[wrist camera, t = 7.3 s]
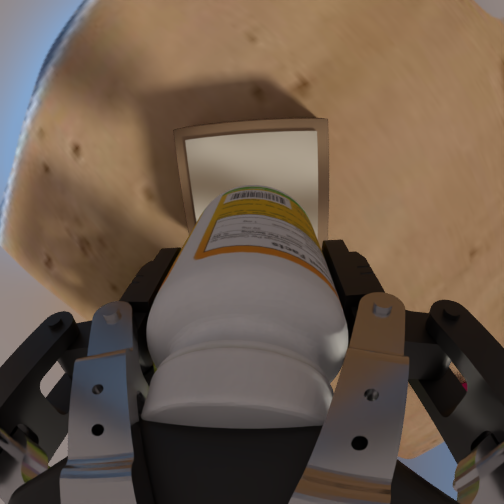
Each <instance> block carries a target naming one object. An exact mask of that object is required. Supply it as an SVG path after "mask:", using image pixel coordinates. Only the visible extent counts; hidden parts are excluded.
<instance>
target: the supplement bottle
mask: <svg viewBox="0 0 504 504" xmlns="http://www.w3.org/2000/svg"><path fill="white" fill-rule="evenodd" d="M146 337H147V345H148V350H149V353H150V355H151V358H152V360H153V362H154V364H155V366H156V368H157V371H156V372H155V373H154V375H153V377H152V379H151V382H150V386H149V390H148V394H147V397H146V400H145V404H144V407H143V410H142V414H141V418H142V419H143V420H146V421H153V422H160V423H168V424H176V425H186V426H197V427H212V428H239V429H263V428H290V427H305V426H321V425H323V424H324V421H325V418H326V416H327V413H328V410H329V407H330V404H331V401H332V398H333V395H334V393H333V389H332V387H331V385H330V383H331V382H332V381H333V379H334V378H335V377H336V375H337V374H338V372H339V371H340V369H341V367H342V365H343V362H344V359H345V355H346V352H347V348H348V329H347V323H346V319H345V316H344V312H343V308H342V305H341V302H340V300H339V296H338V294H337V292H336V289H335V286H334V283H333V281H332V278H331V275H330V272H329V269H328V267H327V264H326V261H325V258H324V256H323V253H322V250H321V248H320V245H319V242H318V240H317V237H316V234H315V232H314V229H313V226H312V224H311V222H310V220H309V218H308V216H307V214H306V212H305V211H304V209H303V208H302V207H301V205H300V204H299V203H298V202H297V201H296V200H294V199H293V198H292V197H290V196H289V195H287V194H286V193H284V192H282V191H280V190H277V189H275V188H272V187H268V186H263V185H244V186H239V187H236V188H233V189H230V190H228V191H226V192H224V193H222V194H220V195H219V196H217V197H216V198H215V199H214V200H213V201H211V202H210V203H209V205H208V206H207V207H206V208H205V210H204V211H203V212H202V214H201V215H200V217H199V219H198V221H197V222H196V224H195V226H194V228H193V229H192V231H191V233H190V235H189V237H188V238H187V240H186V242H185V244H184V245H183V247H182V249H181V251H180V253H179V254H178V256H177V258H176V260H175V261H174V263H173V265H172V267H171V269H170V271H169V273H168V274H167V276H166V278H165V280H164V282H163V284H162V285H161V287H160V289H159V291H158V294H157V296H156V298H155V300H154V303H153V305H152V307H151V310H150V313H149V317H148V321H147V328H146Z"/></svg>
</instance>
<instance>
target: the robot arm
mask: <svg viewBox="0 0 504 504" xmlns="http://www.w3.org/2000/svg"><path fill="white" fill-rule="evenodd" d="M180 251H181V248H164V249H161V250H160V252H159V253H158V255H157V256H156V258H155V259H154V261H150V262H149V263H147V264H146V265H144V266H143V267H142V268H141V269H140V270H139V272H138V273H137V275H136V277H135V278H134V279H133V281H132V283H131V284H130V285H129V287H128V288H127V290H126V291H125V293H124V294H123V296H122V297H121V299H120V300H119V301H115V302H111V303H108V304H106V305H104V306H102V307H101V308H99V309H98V310H97V311H96V312H95V314H94V316H93V319H92V321H87V322H81V323H76V322H75V320H74V318H73V316H72V314H70V313H69V312H65V311H63V312H58V313H55V314H53V315H51V316H50V317H48V318H47V319H46V320H45V321H44V322H43V323H42V324H41V325H40V326H39V327H38V328H37V329H36V330H35V331H34V332H33V333H32V334H31V335H30V336H29V337H28V338H27V339H26V340H25V341H24V342H23V343H22V344H21V345H20V346H19V347H18V348H17V349H16V351H15V352H14V353H13V354H12V355H11V356H10V357H9V358H8V359H7V360H6V362H5V363H4V364H3V365H2V366H1V367H0V498H1V499H2V500H3V501H4V502H5V504H504V348H503V347H502V346H501V345H500V344H499V343H498V341H497V340H496V339H495V338H494V337H493V336H492V335H491V334H490V333H489V332H488V331H487V330H486V329H485V328H484V327H483V325H482V324H481V323H480V322H479V321H478V320H477V319H476V318H475V317H474V316H473V315H472V314H471V313H470V312H469V311H468V310H467V309H466V308H465V307H463V306H462V305H461V304H459V303H457V302H454V301H451V300H440V301H437V302H435V303H433V305H432V306H431V309H430V312H429V313H422V312H413V311H408V310H405V306H404V304H403V302H402V301H401V300H400V299H398V298H397V297H395V296H393V295H391V294H388V293H385V291H384V290H383V288H382V286H381V284H380V282H379V281H378V279H377V277H376V275H375V274H374V273H373V270H372V268H371V267H370V265H369V263H368V262H367V260H366V258H365V257H363V256H362V255H360V254H359V253H358V252H349V251H348V249H347V247H346V245H345V243H344V241H343V240H324V241H323V243H322V253H323V256H324V258H325V261H326V264H327V267H328V269H329V272H330V275H331V278H332V281H333V283H334V286H335V289H336V292H337V294H338V296H339V300H340V302H341V305H342V308H343V312H344V316H345V319H346V323H347V329H348V348H347V352H346V355H345V359H344V362H343V366H342V369H341V373H340V376H339V379H338V382H337V386H336V389H335V392H334V395H333V398H332V401H331V404H330V407H329V410H328V413H327V416H326V418H325V421H324V424H323V425H321V426H305V427H290V428H263V429H239V428H212V427H197V426H186V425H176V424H168V423H160V422H153V421H146V420H143V419H142V418H141V414H142V410H143V407H144V404H145V400H146V397H147V394H148V390H149V386H150V382H151V379H152V377H153V375H154V373H155V372H156V371H157V368H156V366H155V364H154V362H153V360H152V358H151V355H150V353H149V350H148V345H147V337H146V328H147V321H148V317H149V313H150V310H151V307H152V305H153V303H154V300H155V298H156V296H157V294H158V291H159V289H160V287H161V285H162V284H163V282H164V280H165V278H166V276H167V274H168V273H169V271H170V269H171V267H172V265H173V263H174V261H175V260H176V258H177V256H178V254H179V253H180ZM56 361H58V362H59V364H60V365H61V367H62V368H63V370H64V371H65V374H64V375H63V376H62V378H61V379H60V380H59V381H58V383H57V384H56V385H55V386H54V388H53V389H52V390H51V392H50V393H49V394H48V396H47V397H46V398H45V397H44V396H43V394H42V393H41V391H40V382H41V380H42V378H43V377H44V376H45V374H46V373H47V372H48V371H49V370H50V369H51V367H52V366H53V365H54V364H55V363H56ZM451 362H453V364H454V365H455V366H456V367H457V369H458V370H459V371H460V373H461V374H462V375H463V377H464V378H465V380H466V382H467V391H466V390H465V388H464V387H463V385H462V384H461V383H460V381H459V380H458V379H457V377H456V376H455V375H454V373H453V372H452V371H451V369H450V368H449V365H450V363H451ZM408 382H409V383H410V385H411V387H412V388H413V390H414V391H415V393H416V394H417V396H418V398H419V399H420V401H421V402H422V404H423V406H424V407H425V409H426V411H427V412H428V414H429V416H430V417H431V419H432V421H433V422H434V424H435V426H436V427H437V429H438V431H439V432H440V434H441V436H442V438H443V439H444V441H445V443H446V444H447V446H448V448H449V450H450V452H451V453H452V455H453V457H454V459H455V461H456V462H457V464H458V466H457V468H456V471H455V479H454V481H453V488H454V490H456V491H457V492H458V495H457V501H456V500H454V499H453V498H451V497H450V496H448V495H446V494H445V493H444V492H442V491H441V490H439V489H438V488H436V487H434V486H433V485H432V484H430V483H429V482H427V481H426V480H425V479H423V478H422V477H421V476H419V475H418V474H416V473H415V472H414V471H412V470H411V469H410V468H408V467H407V466H405V465H404V464H403V463H401V462H400V461H399V460H397V456H398V451H399V445H400V440H401V434H402V428H403V421H404V414H405V406H406V398H407V388H408ZM67 433H68V456H67V457H66V458H64V459H63V460H61V461H60V462H58V463H56V464H55V465H53V466H52V467H50V466H48V463H49V461H50V460H51V458H52V456H53V455H54V453H55V452H56V450H57V449H58V447H59V446H60V444H61V442H62V441H63V440H64V438H65V437H66V435H67Z"/></svg>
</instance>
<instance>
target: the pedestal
mask: <svg viewBox="0 0 504 504" xmlns="http://www.w3.org/2000/svg"><path fill="white" fill-rule="evenodd" d="M173 132H174V140H175V148H176V155H177V163H178V170H179V177H180V183H181V190H182V197H183V203H184V209H185V215H186V221H187V227H188V232H189V235H190V233H191V231H192V229H193V228H194V226H195V224H196V222H197V221H198V219H199V217H200V215H201V214H202V212H203V211H204V210H205V208H206V207H207V206H208V205H209V203H210V202H211V201H213V200H214V199H215V198H216V197H217V196H219V195H220V194H222V193H224V192H226V191H228V190H230V189H233V188H236V187H239V186H244V185H263V186H268V187H272V188H275V189H277V190H280V191H282V192H284V193H286V194H287V195H289V196H290V197H292V198H293V199H294V200H296V201H297V202H298V203H299V204H300V205H301V207H302V208H303V209H304V211H305V212H306V214H307V216H308V218H309V220H310V222H311V224H312V226H313V229H314V232H315V234H316V237H317V240H318V242H319V245H320V248H321V250H322V243H323V241H324V240H328V216H329V134H328V119H324V118H274V119H256V120H242V121H231V122H221V123H212V124H204V125H196V126H189V127H184V128H180V129H175V130H173Z"/></svg>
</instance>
